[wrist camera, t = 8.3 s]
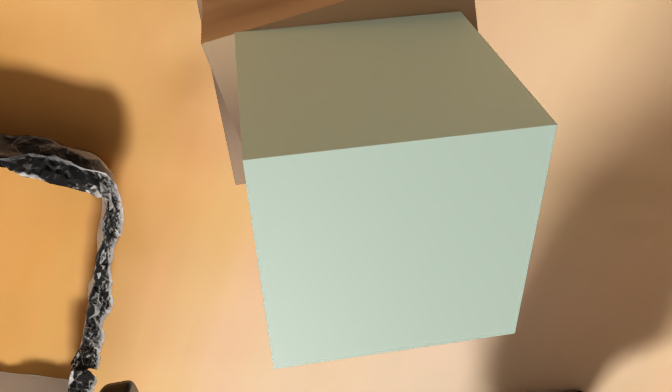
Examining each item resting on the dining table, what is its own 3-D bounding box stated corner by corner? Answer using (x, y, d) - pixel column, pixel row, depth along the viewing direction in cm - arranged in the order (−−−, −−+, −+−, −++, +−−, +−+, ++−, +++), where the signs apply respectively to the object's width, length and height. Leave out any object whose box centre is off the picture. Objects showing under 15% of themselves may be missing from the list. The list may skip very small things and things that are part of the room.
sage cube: (445, 191, 17) (514, 333, 13) (259, 214, 17) (274, 368, 13) (460, 11, 14) (557, 124, 10) (234, 32, 14) (242, 160, 10)
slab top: (458, 124, 19) (493, 180, 17) (272, 179, 20) (281, 242, 17) (431, -73, 16) (470, -37, 13) (202, -4, 16) (200, 44, 14)
